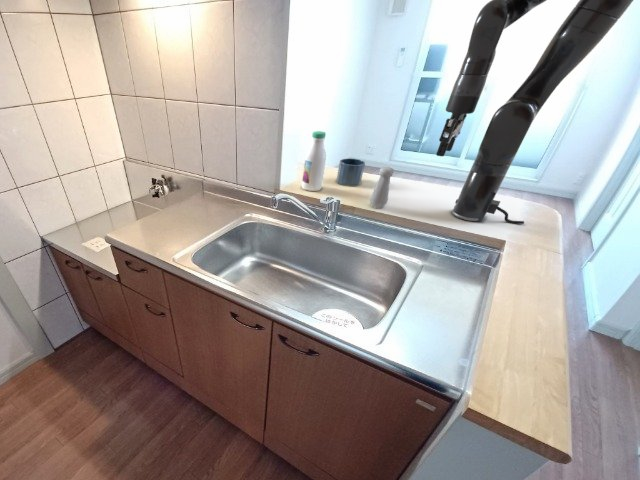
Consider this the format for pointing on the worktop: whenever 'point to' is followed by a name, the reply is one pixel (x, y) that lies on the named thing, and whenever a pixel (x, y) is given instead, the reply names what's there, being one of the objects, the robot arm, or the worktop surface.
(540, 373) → the worktop surface
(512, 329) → the worktop surface
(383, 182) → the salt shaker
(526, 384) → the worktop surface
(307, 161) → the milk bottle
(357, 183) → the cup
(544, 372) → the worktop surface
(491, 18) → the robot arm
